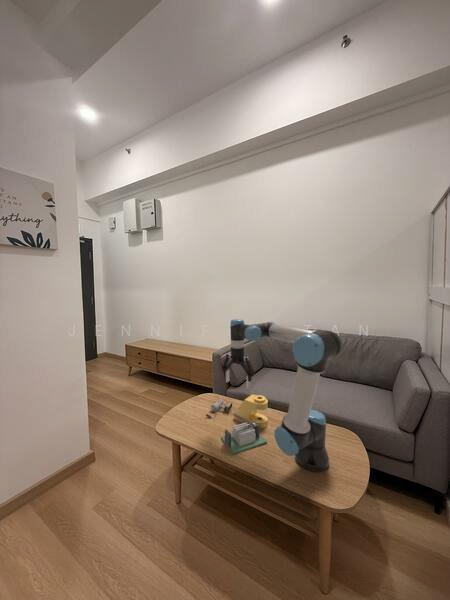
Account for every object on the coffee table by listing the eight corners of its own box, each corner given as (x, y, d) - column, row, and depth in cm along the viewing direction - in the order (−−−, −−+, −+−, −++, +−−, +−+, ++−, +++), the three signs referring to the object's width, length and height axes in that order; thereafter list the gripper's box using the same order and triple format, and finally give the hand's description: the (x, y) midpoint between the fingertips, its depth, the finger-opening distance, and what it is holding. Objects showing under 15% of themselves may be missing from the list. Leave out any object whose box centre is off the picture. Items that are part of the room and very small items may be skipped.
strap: (251, 423, 134) (252, 421, 134) (255, 427, 131) (256, 425, 131) (232, 414, 128) (233, 411, 129) (235, 417, 125) (236, 415, 125)
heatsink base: (252, 428, 141) (252, 416, 140) (267, 443, 128) (267, 429, 128) (221, 438, 132) (221, 424, 132) (232, 454, 120) (232, 439, 119)
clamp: (270, 423, 147) (270, 397, 146) (263, 430, 139) (263, 403, 138) (241, 412, 159) (241, 388, 158) (233, 419, 151) (233, 393, 150)
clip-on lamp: (217, 426, 149) (233, 408, 163) (217, 417, 147) (233, 400, 161) (202, 418, 155) (219, 401, 169) (202, 410, 153) (219, 393, 167)
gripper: (260, 348, 133) (260, 386, 134) (223, 342, 147) (223, 377, 148) (254, 351, 127) (254, 391, 128) (215, 345, 141) (216, 381, 142)
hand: (237, 384), depth 138 cm, fingers open, 13 cm apart
